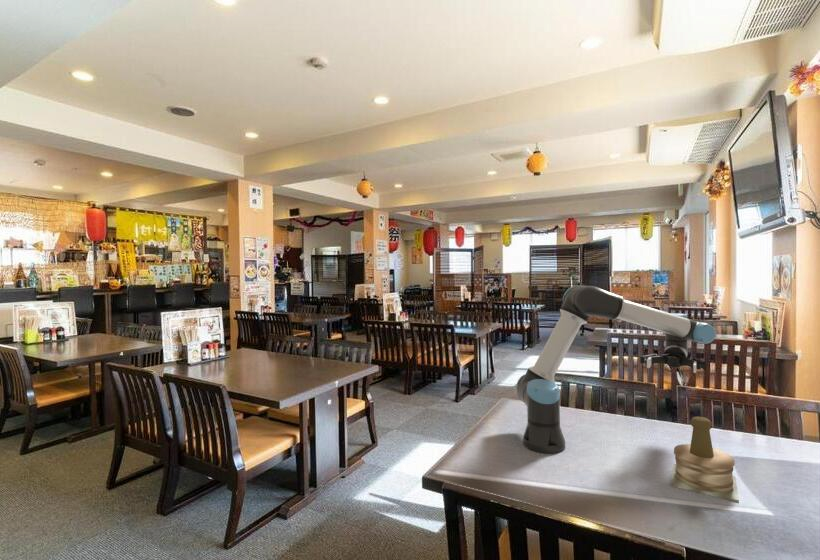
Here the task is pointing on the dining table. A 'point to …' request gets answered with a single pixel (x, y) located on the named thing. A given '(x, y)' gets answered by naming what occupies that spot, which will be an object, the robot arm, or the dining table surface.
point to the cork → (701, 438)
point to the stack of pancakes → (705, 473)
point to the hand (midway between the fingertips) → (670, 366)
